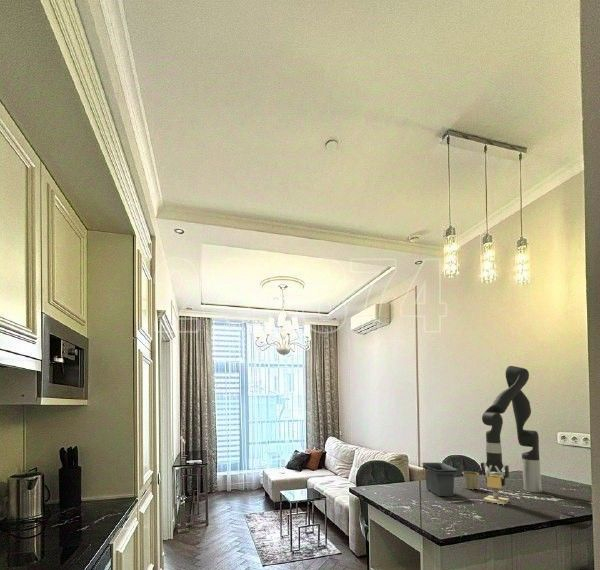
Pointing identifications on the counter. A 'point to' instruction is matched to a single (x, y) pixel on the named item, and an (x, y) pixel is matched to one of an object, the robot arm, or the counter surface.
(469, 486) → the flower pot
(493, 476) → the ring
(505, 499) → the post stand
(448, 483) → the storage bin
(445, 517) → the counter surface
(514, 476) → the counter surface
